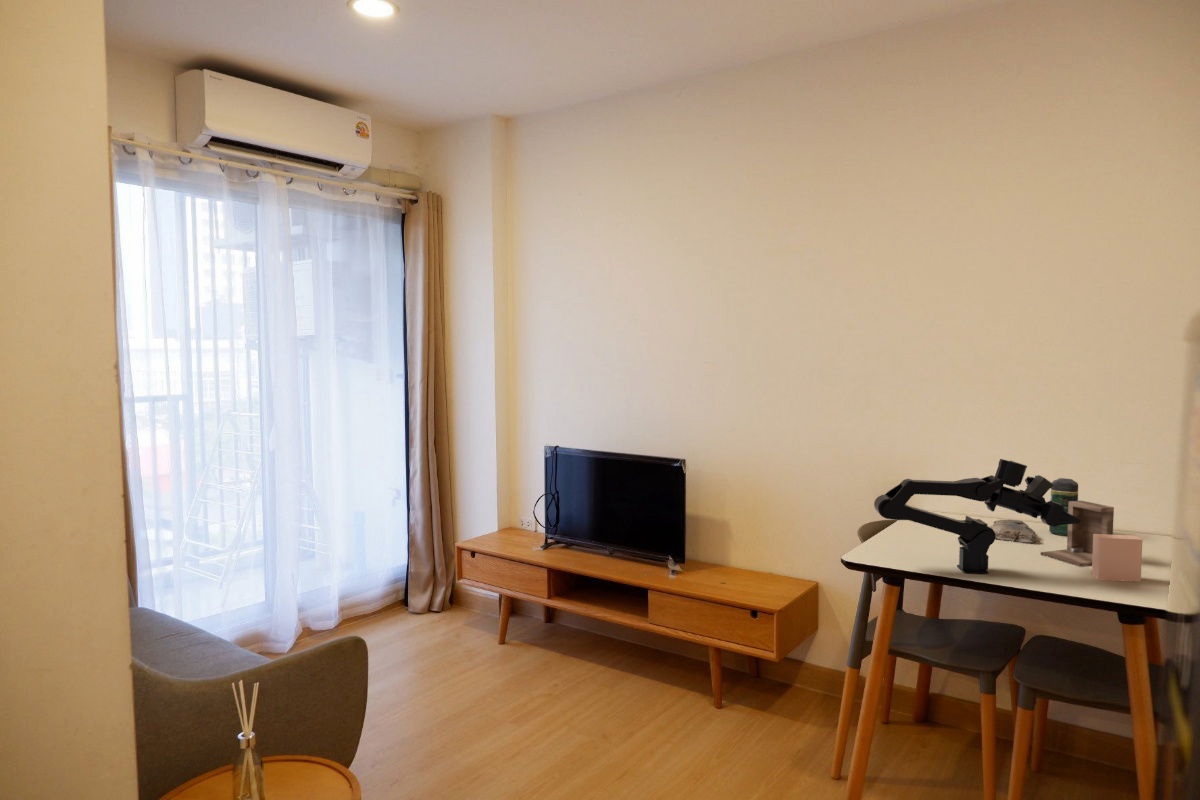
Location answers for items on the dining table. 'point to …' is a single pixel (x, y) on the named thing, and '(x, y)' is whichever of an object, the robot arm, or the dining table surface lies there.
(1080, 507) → the walnut shelf
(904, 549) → the dining table surface
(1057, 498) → the coffee jar
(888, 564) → the dining table surface
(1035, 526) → the dining table surface
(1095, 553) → the terracotta slab
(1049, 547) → the dining table surface
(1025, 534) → the jagged gray stone
